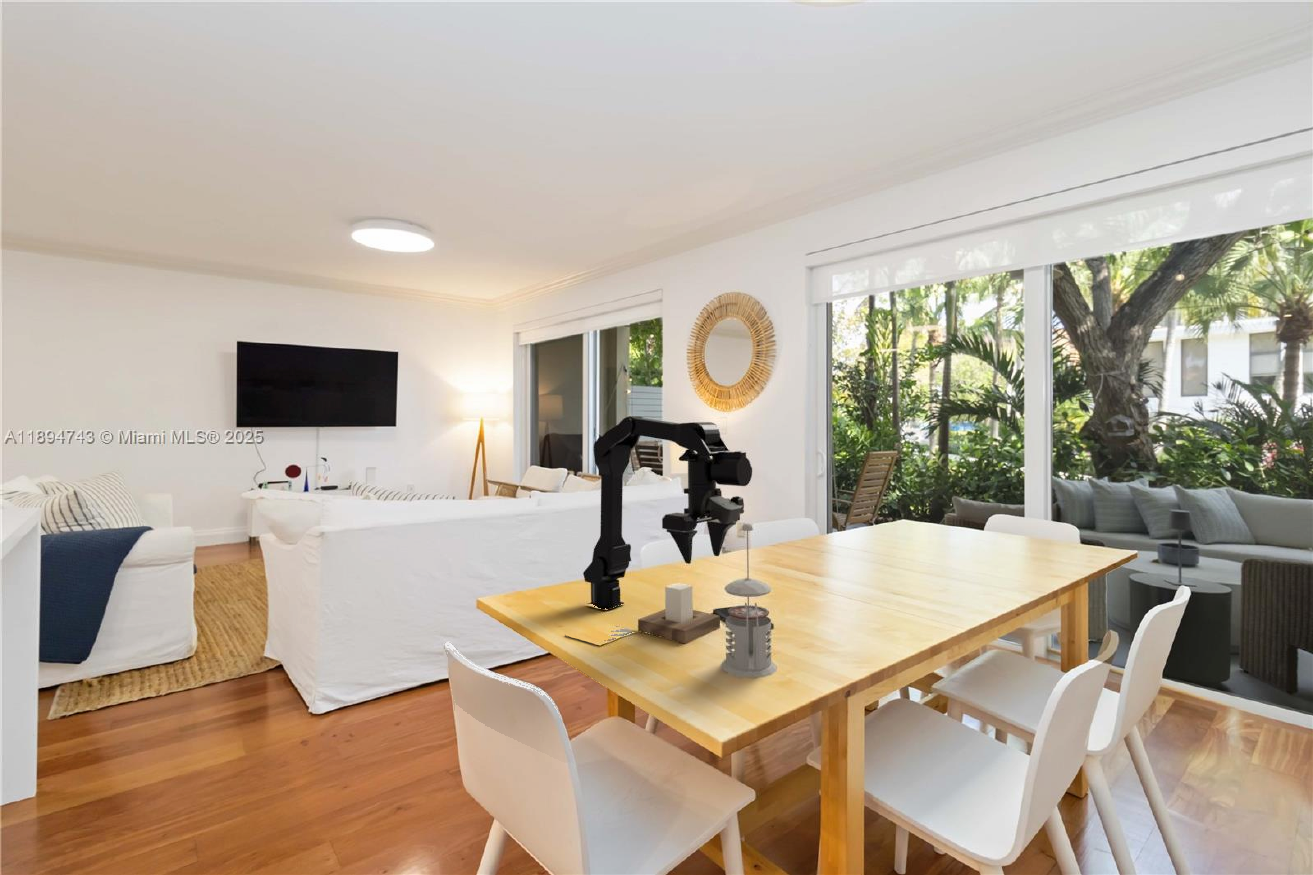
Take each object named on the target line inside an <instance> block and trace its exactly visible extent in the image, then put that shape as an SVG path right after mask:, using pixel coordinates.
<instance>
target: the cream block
mask: <svg viewBox="0 0 1313 875" xmlns="http://www.w3.org/2000/svg"><path fill="white" fill-rule="evenodd" d="M664 588H665V589H664V590H665V591H664V592H665V594H664V596H665V599H664V602H665V605H664V606H665V608H664V609H665V612H666V620H669V621H674V622H678V623H684V622H687V621H689V620H691V619H693V610H694V608H693V606H694V604H693V603H694V602H693V596H694V595H693V593H694V592H693V585H689V584H685V583H679V582H675V583H673V584H669V585H666V586H665V587H664Z"/></svg>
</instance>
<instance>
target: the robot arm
mask: <svg viewBox="0 0 1313 875" xmlns="http://www.w3.org/2000/svg"><path fill="white" fill-rule="evenodd" d="M718 427H719V426H718V425H717V424H716V423H714V422H712V421H705V422H704V421H702V422H701V421H700V422H699V421H698V422H679V423H678V422H671V421H666V420H660V419H658V420H657V419H651V418H644V417H643V416H639V415H638V416H636V415H635V416H626V417H624V418H623V419H621V421H620V422H619V423H618V424H617V425H614V426H613V427H612V428H610V429H609V430H607V431H605V433H603V435H602V436H599V437H598V438H597V439H596V440H595V441H594V442H593V455H594V463H595V465H596V468H597V470H598V471H599V474H600V478H601V479H600V480H601V481H600V535H599V538H598V541H597V542H596V544H595V545H594V548H593V552H592V559H591V563H589V564H588V566H587V567H586V568H585V570H584V571H583V577H584V582H585V583H590V602H587V604H593V605H595V606H597V607H598V608H601V609H605V608H606V609H610V608H613V607H615V606H618V605H621V604H624V605H625V602H624V601H621V586H620V580H619V579H623V578H625V575H626V571H627V569H628V568H629V566H630V562H632V557H631V551H632V546H631V543H626V541H625V539H624V538H623V490H624V489H623V487H624V485H623V482H624V480H623V478H624V473H625V471H626V470H627V468H628V466H629V464H630V459H631V451H632V450H633V449H634V448H635V447H636V446H637V445H638V444H639V440H640V438H641V436H642V437H646V438H653V439H658V440H664V441H669V442H673V443H675V444H676V445H678V446H679V447H681V448H684V449H686V450H685V451H684V453H683V454H681V455H680V456H679V457H678V460H679V461H680V462H687V487H685V488H683V494H687V504H688V505H687V507H686V508H685V507H684V508H683V512H673V513H667V514H664V515H663V517H662V519H661V522H662V523H661V524H662V525H661V529H662V530H665V531H666V533H669V534H670V535H671V537H672V539H673V540H674V542H675V544H676V546H677V547H678V550H679V552H680V554H681V556H682V559H683V561H684V562H685V564H686V565H691V563H692V557H693V538H694V537H695V535H696V534H697V533H698V530H696V527H697V525H698V524H700V523H705V522H706V526H707V530H708V534H709V539H710V540H709V541H710V545H711V550H712V553H713V555H714V557H719V556H720V555H721V554H720V553H721V550H722V548H723V544H724V541H725V540H726V535H727V533H728V531H729V530H730V529H731V528H733V527H734V526H735V525H736V524H737V522H738V521H740V520H741V514H744V513H745V510H744V508H745V503H744V498H743V497H742V496H739V495H735V496H732V497H731V498H729V497H728V498H725V497H723V496H722V495H723V494H722V490H721V488H720V487H717V485H721V486H735V487H746V486H748V484H749V483H751V480H752V476H753V467H752V465H751V461H750V459H748V458H747V452H746V450H738V451H731V450H730V448H729V447H728V445H727V443H726V442H725V440H724V438H723V437H722V436H721V435H722V434H721V433H720V428H718ZM595 606H594V607H595ZM613 609H614V608H613ZM610 610H611V609H610Z"/></svg>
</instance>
